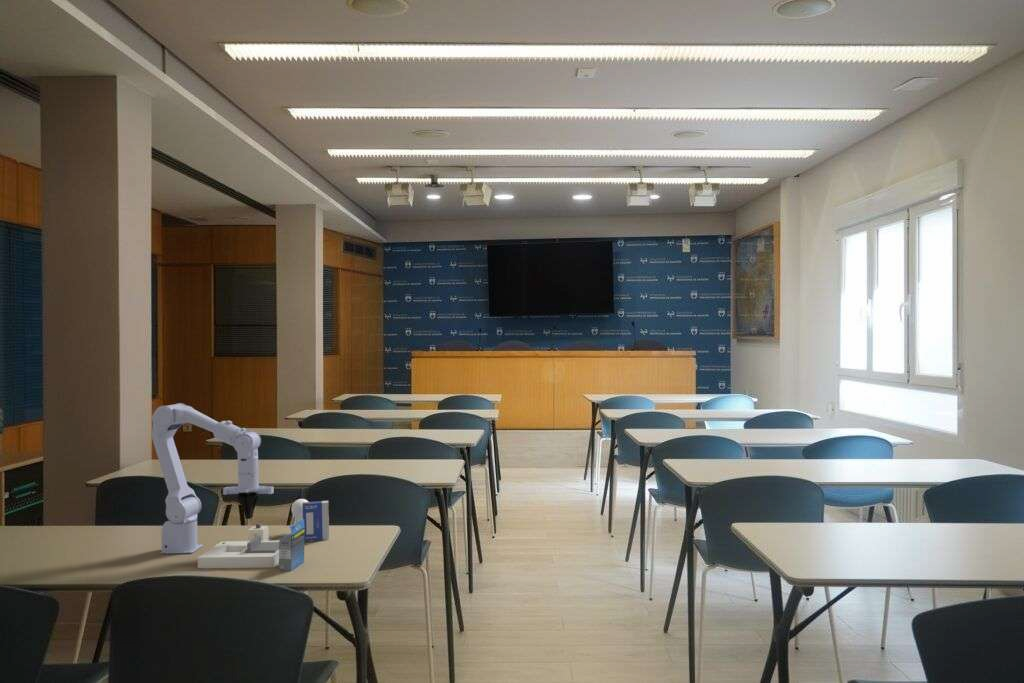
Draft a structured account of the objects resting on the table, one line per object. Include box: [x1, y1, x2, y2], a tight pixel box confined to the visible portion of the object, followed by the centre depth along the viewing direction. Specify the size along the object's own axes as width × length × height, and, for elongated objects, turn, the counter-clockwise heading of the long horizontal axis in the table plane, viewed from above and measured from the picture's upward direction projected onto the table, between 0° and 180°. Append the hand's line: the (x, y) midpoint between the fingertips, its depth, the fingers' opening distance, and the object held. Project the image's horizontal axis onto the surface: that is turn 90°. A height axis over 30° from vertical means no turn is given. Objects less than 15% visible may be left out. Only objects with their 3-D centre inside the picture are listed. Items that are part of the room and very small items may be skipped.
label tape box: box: [278, 519, 305, 572], centre depth 205 cm, size 9×4×12 cm, turn 172°
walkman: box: [303, 500, 330, 542], centre depth 232 cm, size 8×3×12 cm, turn 103°
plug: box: [247, 523, 269, 541], centre depth 227 cm, size 4×5×6 cm
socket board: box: [197, 540, 279, 569], centre depth 213 cm, size 21×16×3 cm
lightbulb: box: [290, 498, 309, 529], centre depth 241 cm, size 6×6×11 cm
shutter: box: [245, 536, 279, 553], centre depth 213 cm, size 8×8×3 cm
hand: (249, 518), depth 221 cm, fingers closed
